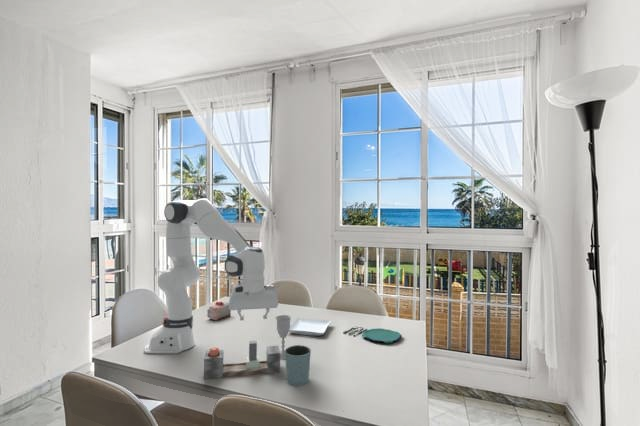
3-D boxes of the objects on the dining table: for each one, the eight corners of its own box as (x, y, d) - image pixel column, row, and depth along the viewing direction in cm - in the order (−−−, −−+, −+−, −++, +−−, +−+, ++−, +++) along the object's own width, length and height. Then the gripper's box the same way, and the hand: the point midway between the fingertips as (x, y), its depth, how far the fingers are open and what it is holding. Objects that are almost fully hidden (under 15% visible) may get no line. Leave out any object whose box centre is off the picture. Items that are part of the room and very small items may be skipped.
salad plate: (285, 335, 186) (285, 328, 186) (297, 322, 207) (297, 317, 207) (323, 339, 181) (323, 332, 181) (331, 326, 202) (332, 320, 202)
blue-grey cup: (310, 374, 141) (310, 345, 141) (310, 386, 131) (310, 355, 131) (285, 374, 141) (285, 345, 141) (283, 386, 131) (284, 355, 130)
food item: (215, 321, 206) (215, 305, 206) (206, 319, 210) (206, 303, 210) (231, 315, 218) (232, 300, 218) (222, 313, 222) (222, 298, 222)
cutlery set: (391, 348, 170) (391, 343, 170) (340, 335, 187) (340, 331, 187) (406, 337, 186) (406, 332, 186) (358, 326, 203) (358, 322, 203)
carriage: (246, 369, 141) (246, 344, 140) (246, 363, 146) (246, 340, 146) (259, 368, 142) (259, 344, 142) (258, 362, 147) (258, 339, 147)
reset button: (208, 361, 138) (209, 351, 138) (209, 357, 141) (209, 347, 141) (218, 360, 139) (218, 350, 139) (218, 356, 142) (219, 347, 142)
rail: (203, 379, 135) (204, 358, 135) (205, 370, 143) (206, 350, 143) (280, 372, 142) (280, 353, 142) (277, 363, 150) (278, 345, 150)
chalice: (283, 352, 162) (284, 314, 162) (293, 356, 158) (294, 317, 158) (271, 357, 157) (272, 317, 157) (282, 361, 152) (283, 320, 152)
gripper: (277, 283, 149) (277, 315, 149) (229, 285, 144) (228, 318, 144) (279, 286, 143) (279, 320, 143) (228, 288, 138) (228, 323, 138)
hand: (253, 319), depth 144 cm, fingers open, 8 cm apart
